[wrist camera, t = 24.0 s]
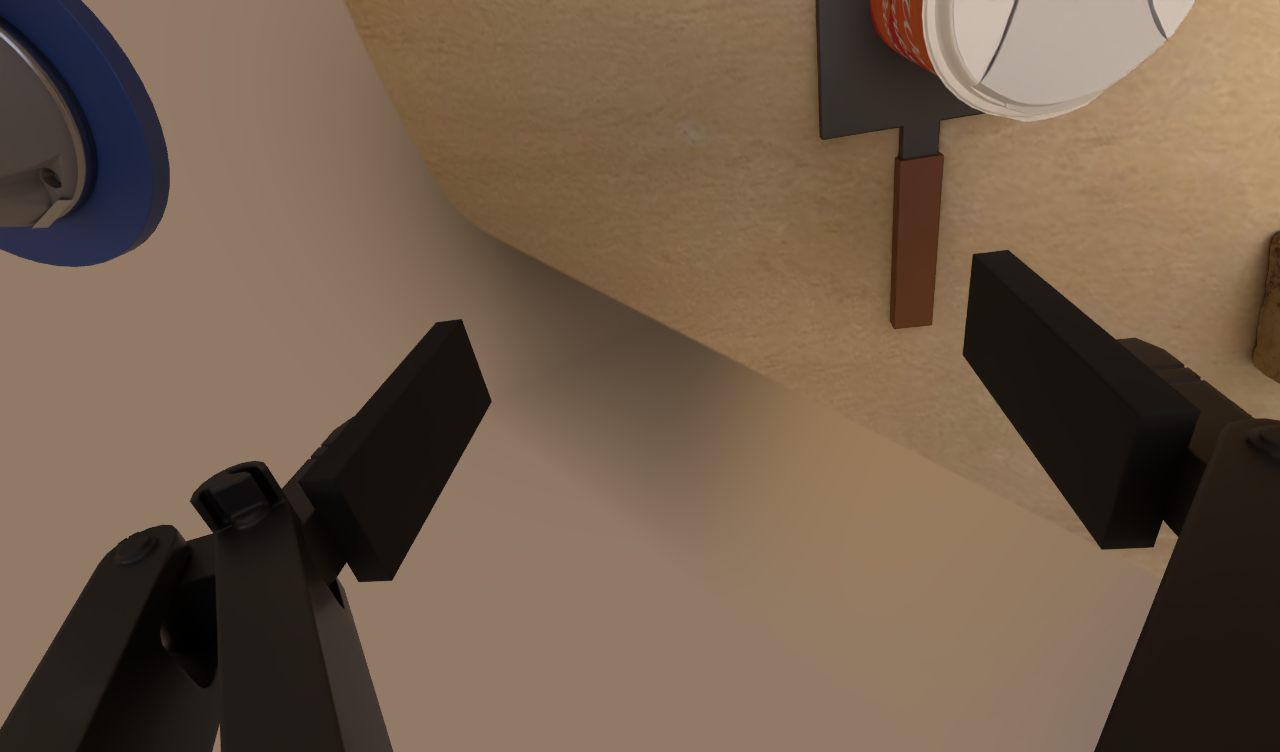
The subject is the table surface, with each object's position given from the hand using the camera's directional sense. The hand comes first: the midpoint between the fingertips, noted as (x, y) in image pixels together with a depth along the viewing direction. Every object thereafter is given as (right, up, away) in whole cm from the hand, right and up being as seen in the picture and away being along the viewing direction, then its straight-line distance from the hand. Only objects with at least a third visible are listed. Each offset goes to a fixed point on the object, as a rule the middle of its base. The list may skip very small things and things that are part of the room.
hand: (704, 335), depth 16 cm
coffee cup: (+13, +19, +15) cm, 28 cm away
